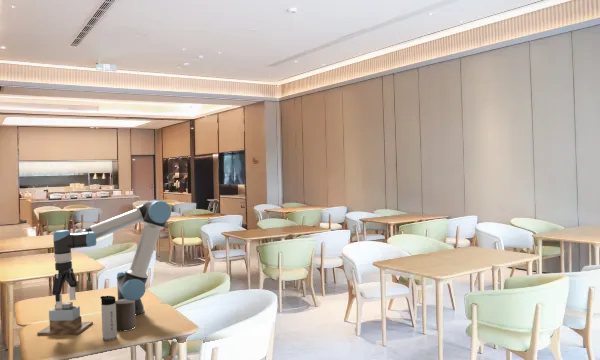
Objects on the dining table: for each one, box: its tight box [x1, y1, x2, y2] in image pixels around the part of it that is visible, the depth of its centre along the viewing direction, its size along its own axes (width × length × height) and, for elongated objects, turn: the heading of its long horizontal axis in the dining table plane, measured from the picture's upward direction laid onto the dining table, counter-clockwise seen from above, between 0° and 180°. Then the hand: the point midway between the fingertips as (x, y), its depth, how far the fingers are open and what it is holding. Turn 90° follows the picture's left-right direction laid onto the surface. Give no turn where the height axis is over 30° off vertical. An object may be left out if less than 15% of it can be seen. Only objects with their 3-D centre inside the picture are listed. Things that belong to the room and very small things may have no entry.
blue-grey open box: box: [48, 305, 81, 322], centre depth 244 cm, size 12×7×5 cm, turn 87°
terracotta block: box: [54, 302, 65, 310], centre depth 244 cm, size 4×4×4 cm
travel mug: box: [100, 295, 118, 342], centre depth 229 cm, size 6×7×20 cm
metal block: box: [62, 301, 74, 310], centre depth 245 cm, size 4×4×4 cm
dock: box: [36, 315, 94, 336], centre depth 245 cm, size 20×16×6 cm
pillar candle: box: [115, 299, 136, 332], centre depth 244 cm, size 10×10×15 cm
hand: (66, 303), depth 245 cm, fingers open, 13 cm apart
